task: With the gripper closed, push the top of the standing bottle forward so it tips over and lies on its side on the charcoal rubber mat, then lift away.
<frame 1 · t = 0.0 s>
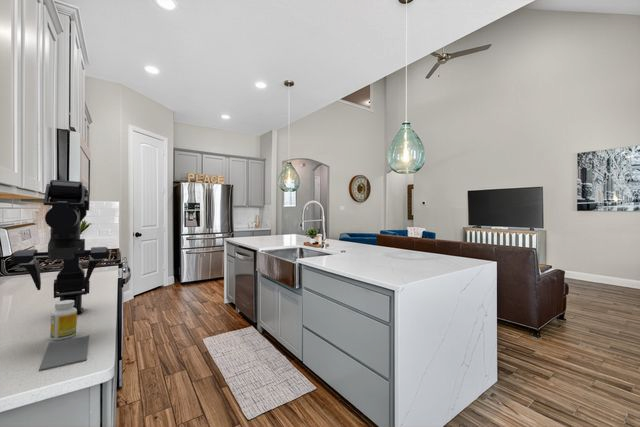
hand: (63, 287, 75), 15 cm above the counter, tool pointing down, fingers open, 9 cm apart
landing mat: (66, 352, 70), on the counter
supplement bottle: (63, 337, 79), on the counter
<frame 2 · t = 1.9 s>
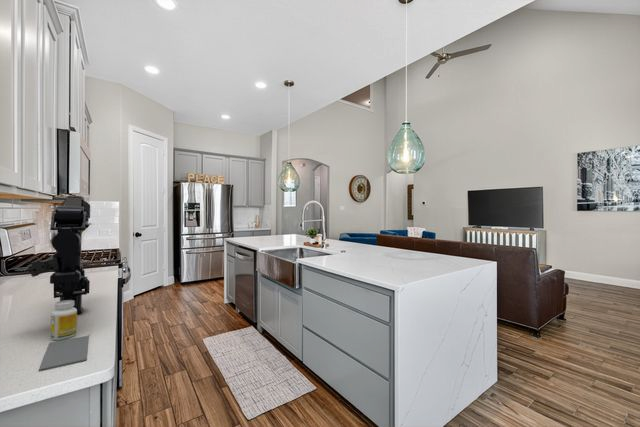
hand: (67, 300, 86), 8 cm above the counter, tool pointing down, fingers closed
nothing on the counter moved.
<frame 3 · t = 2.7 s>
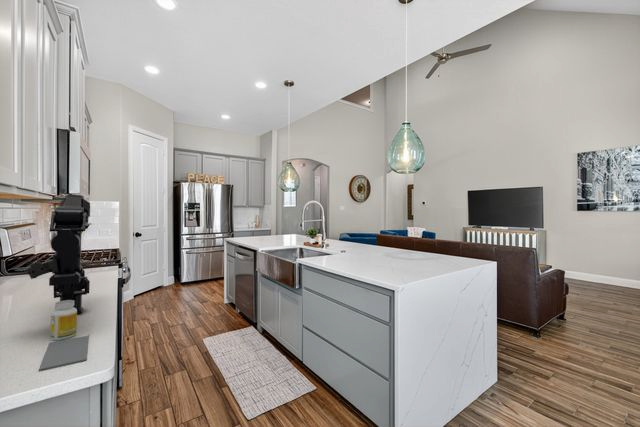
hand: (66, 303, 84), 8 cm above the counter, tool pointing down, fingers closed
nothing on the counter moved.
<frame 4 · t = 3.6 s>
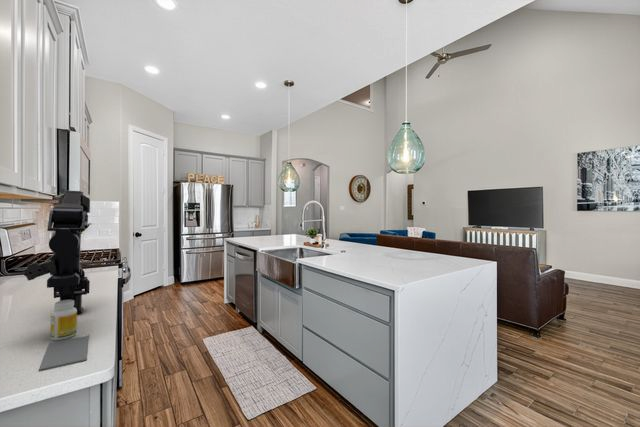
hand: (65, 305, 81), 8 cm above the counter, tool pointing down, fingers closed
supplement bottle: (63, 336, 79), on the counter, touching gripper
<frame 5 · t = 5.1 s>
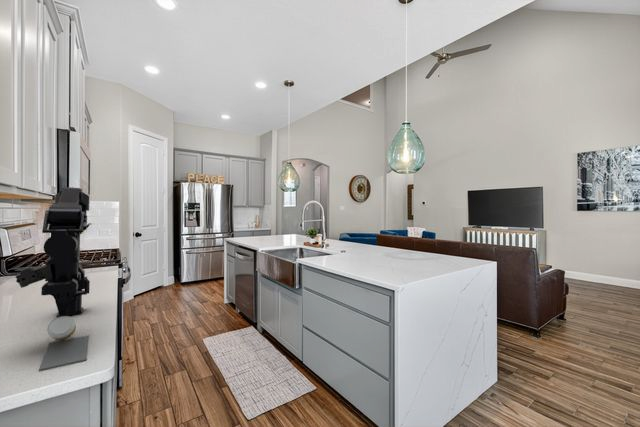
hand: (62, 314, 74), 8 cm above the counter, tool pointing down, fingers closed
supplement bottle: (63, 329, 78), point 2 cm above the counter
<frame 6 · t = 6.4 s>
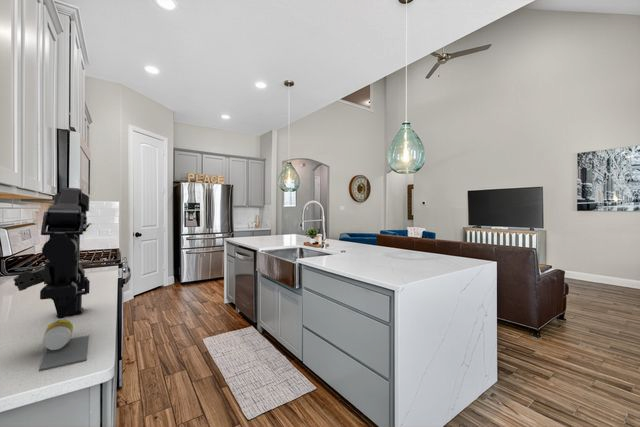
hand: (61, 317, 73), 8 cm above the counter, tool pointing down, fingers closed
supplement bottle: (60, 328, 77), point 3 cm above the counter, touching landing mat
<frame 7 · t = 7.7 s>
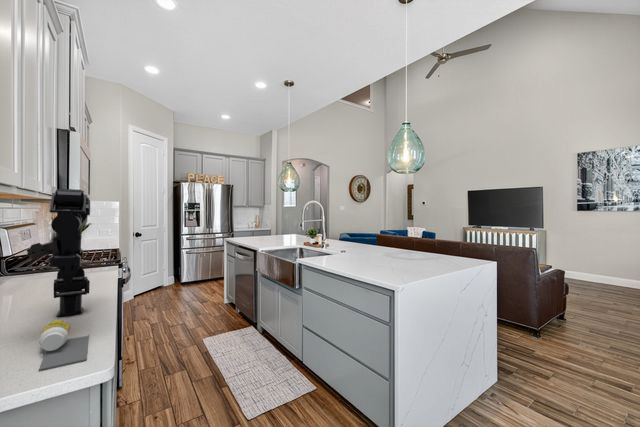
hand: (67, 285, 84), 13 cm above the counter, tool pointing down, fingers closed
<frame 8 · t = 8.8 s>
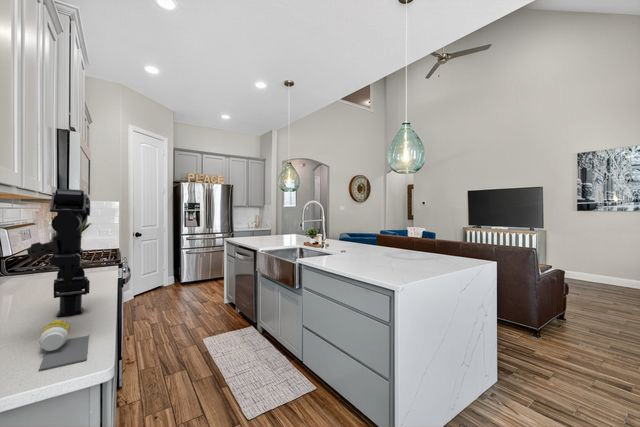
hand: (67, 285, 84), 13 cm above the counter, tool pointing down, fingers closed
nothing on the counter moved.
at the end: supplement bottle tilted 90°; supplement bottle inside the target area (7.9 cm from its centre), point 3.1 cm above the counter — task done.
